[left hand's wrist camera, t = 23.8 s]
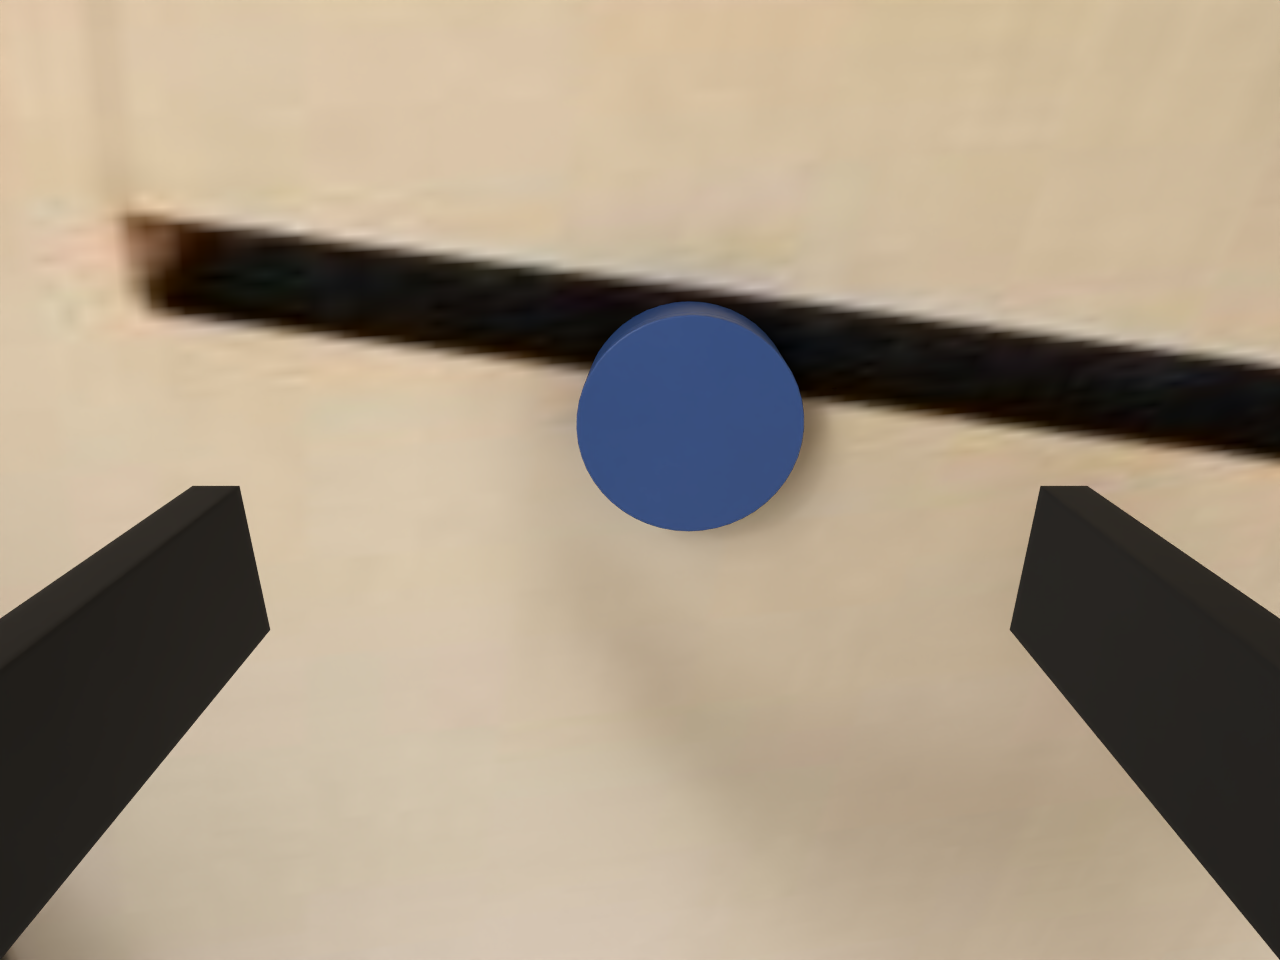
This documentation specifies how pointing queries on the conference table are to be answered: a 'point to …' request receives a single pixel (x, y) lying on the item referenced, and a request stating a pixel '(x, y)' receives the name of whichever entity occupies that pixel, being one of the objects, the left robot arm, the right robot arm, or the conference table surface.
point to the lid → (689, 417)
